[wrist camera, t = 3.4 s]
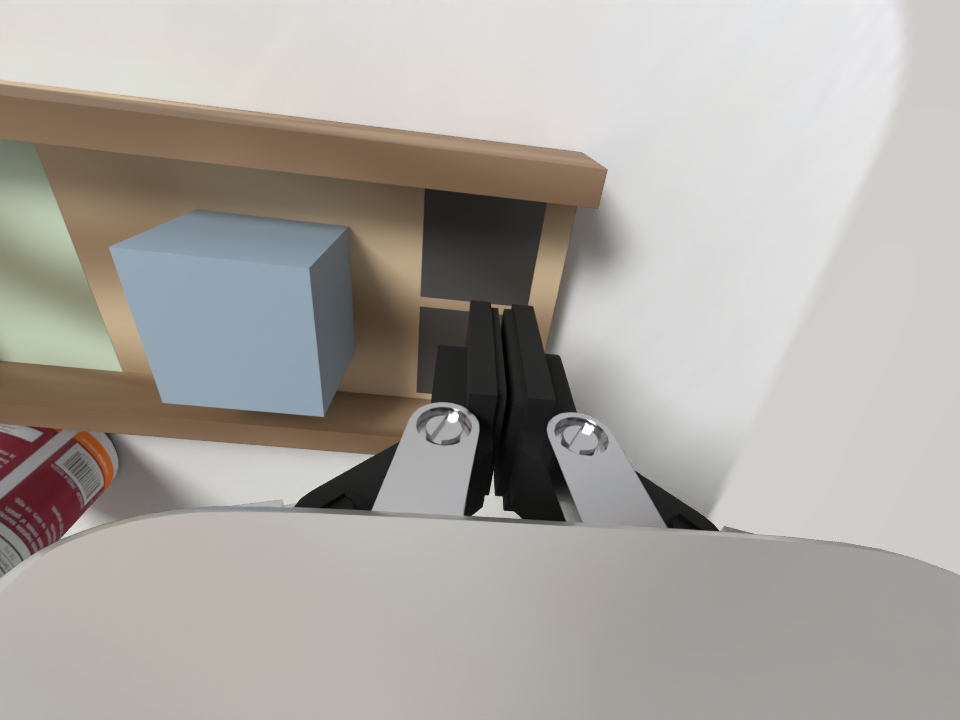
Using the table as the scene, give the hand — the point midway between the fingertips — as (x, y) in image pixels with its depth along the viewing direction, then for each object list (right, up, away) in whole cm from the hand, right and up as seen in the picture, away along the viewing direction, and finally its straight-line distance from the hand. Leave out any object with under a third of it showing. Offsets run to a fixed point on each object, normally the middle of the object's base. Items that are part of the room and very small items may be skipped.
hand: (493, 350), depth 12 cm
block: (-8, +2, +4) cm, 9 cm away
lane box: (-10, +3, +5) cm, 11 cm away
